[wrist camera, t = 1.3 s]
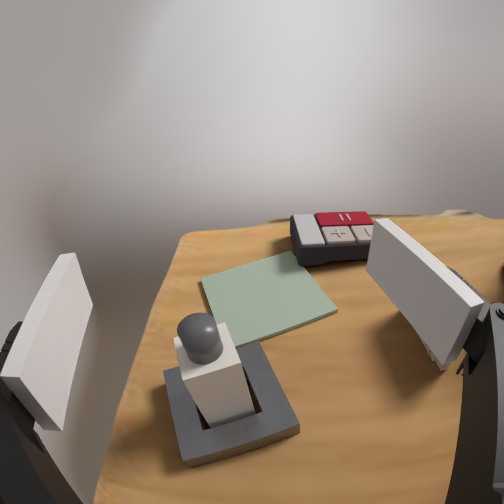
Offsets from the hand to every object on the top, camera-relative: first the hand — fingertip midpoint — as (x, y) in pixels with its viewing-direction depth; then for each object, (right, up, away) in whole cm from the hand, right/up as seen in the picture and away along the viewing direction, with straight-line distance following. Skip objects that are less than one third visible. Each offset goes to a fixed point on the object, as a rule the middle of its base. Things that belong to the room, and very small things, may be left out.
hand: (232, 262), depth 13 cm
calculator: (+16, +2, +42) cm, 45 cm away
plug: (-2, -17, +19) cm, 26 cm away
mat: (+3, -6, +34) cm, 35 cm away
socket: (-2, -17, +19) cm, 26 cm away
